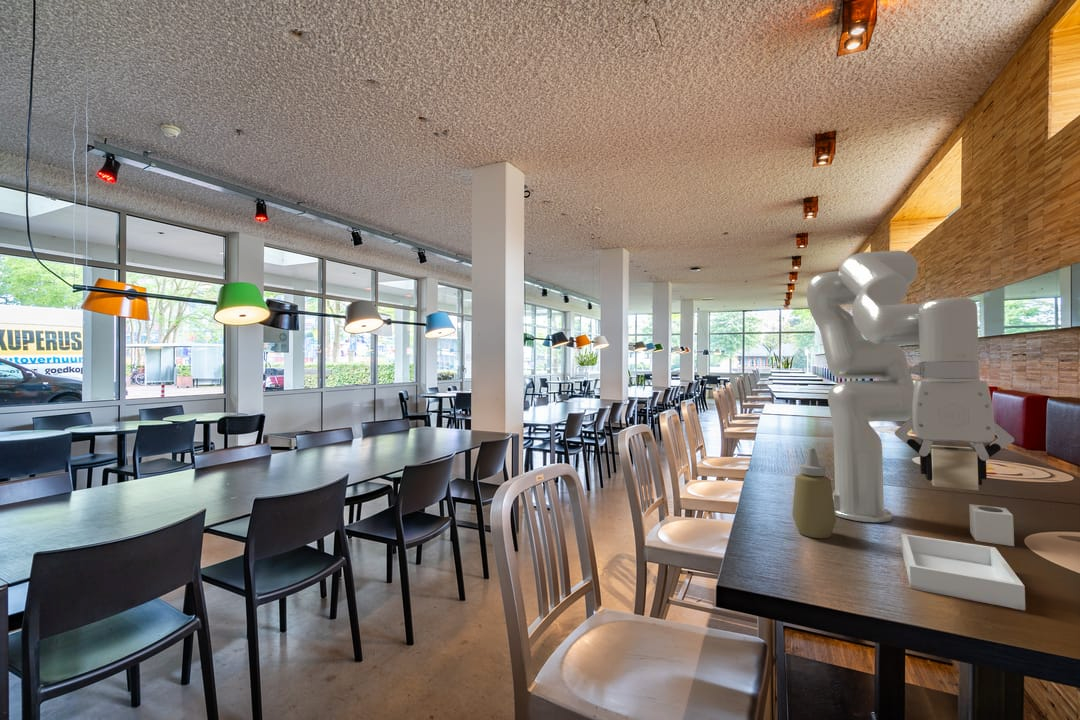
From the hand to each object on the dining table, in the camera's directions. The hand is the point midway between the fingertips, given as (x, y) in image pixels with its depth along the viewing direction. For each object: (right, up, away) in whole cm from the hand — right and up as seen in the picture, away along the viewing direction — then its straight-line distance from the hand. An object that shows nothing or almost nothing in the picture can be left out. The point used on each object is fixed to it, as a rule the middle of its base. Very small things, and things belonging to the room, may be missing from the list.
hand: (952, 479), depth 78 cm
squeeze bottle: (-11, -17, +21) cm, 29 cm away
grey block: (+22, -16, +16) cm, 32 cm away
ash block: (0, -1, 0) cm, 1 cm away
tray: (0, -16, 0) cm, 16 cm away
